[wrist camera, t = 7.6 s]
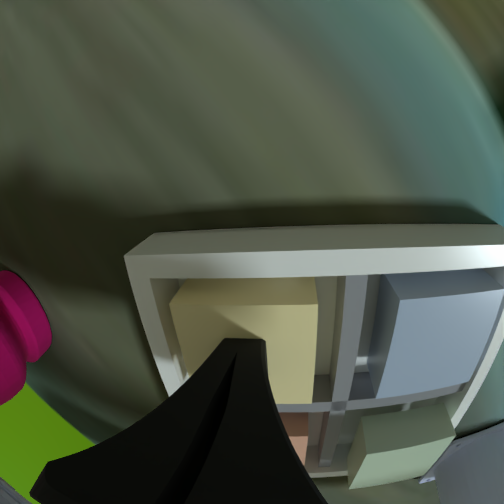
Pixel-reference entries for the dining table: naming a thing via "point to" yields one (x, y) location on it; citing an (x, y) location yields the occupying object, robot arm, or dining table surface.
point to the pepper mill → (19, 333)
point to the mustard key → (253, 326)
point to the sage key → (398, 445)
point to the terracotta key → (297, 431)
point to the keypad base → (320, 307)
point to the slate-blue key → (430, 329)
